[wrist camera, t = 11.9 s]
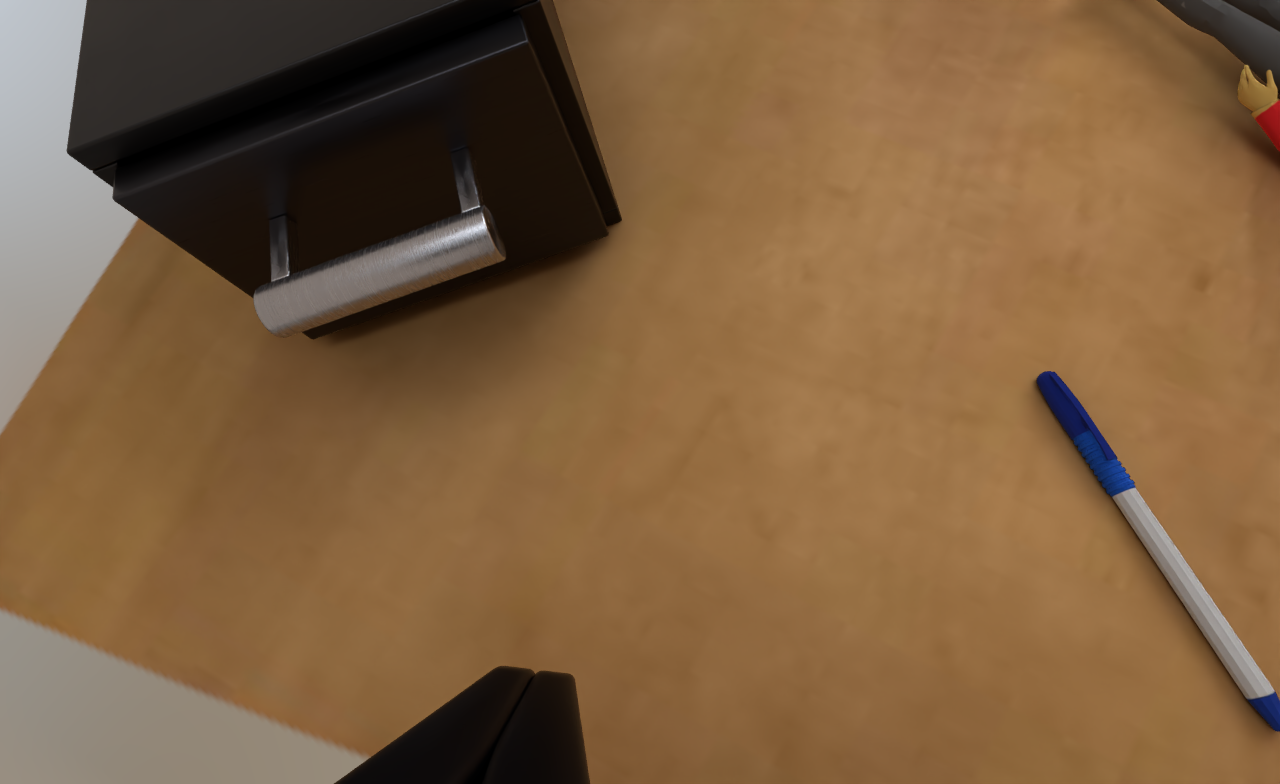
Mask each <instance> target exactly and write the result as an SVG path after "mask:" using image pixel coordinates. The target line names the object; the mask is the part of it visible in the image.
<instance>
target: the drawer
mask: <svg viewBox="0 0 1280 784" xmlns="http://www.w3.org/2000/svg"><path fill="white" fill-rule="evenodd" d="M161 146H163V147H164V148H165V149H166V150H163V151H161V152H158V153H156V154H153V155H150V156H148V157H145V158H143V159H140V160H137V161H135V162H132V163H130V164H127V165H124V166H122V167H119V168H117V169H116V170H115V176H114V187H113V200H114V201H115V202H117V203H118V204H120V205H121V206H123V207H124V208H125V209H127V210H128V211H130V212H131V213H133V214H134V215H135V216H137V217H138V218H140V219H141V220H142V221H144V222H145V223H147V224H148V225H150V226H151V227H152V228H154V229H155V230H157V231H158V232H160V233H161V234H162V235H164V236H165V237H167V238H168V239H170V240H171V241H172V242H174V243H175V244H177V245H178V246H180V247H181V248H182V249H184V250H185V251H187V252H188V253H189V254H191V255H192V256H194V257H195V258H197V259H198V260H199V261H201V262H202V263H204V264H205V265H207V266H208V267H209V268H211V269H212V270H214V271H215V272H217V273H218V274H219V275H221V276H222V277H224V278H225V279H227V280H228V281H229V282H231V283H232V284H234V285H235V286H237V287H238V288H239V289H241V290H242V291H244V292H245V293H247V294H248V295H249V296H251V297H252V298H254V306H255V309H256V312H257V315H258V317H259V319H260V320H261V322H262V323H263V325H264V326H265V327H266V329H267V330H268V331H269V332H271V333H272V334H273V335H275V336H277V337H281V338H286V337H289V336H292V335H295V334H297V333H300V332H302V333H304V334H305V335H306V336H308V337H309V338H311V339H316V338H319V337H322V336H325V335H328V334H330V333H333V332H336V331H339V330H342V329H345V328H347V327H350V326H353V325H356V324H359V323H362V322H364V321H367V320H370V319H373V318H376V317H379V316H382V315H384V314H387V313H390V312H393V311H396V310H399V309H401V308H404V307H407V306H410V305H413V304H416V303H418V302H421V301H424V300H427V299H430V298H433V297H435V296H438V295H441V294H444V293H447V292H450V291H453V290H455V289H458V288H461V287H464V286H467V285H470V284H472V283H475V282H478V281H481V280H484V279H487V278H489V277H492V276H495V275H498V274H501V273H504V272H506V271H509V270H512V269H515V268H518V267H521V266H523V265H526V264H529V263H532V262H535V261H538V260H541V259H543V258H546V257H549V256H552V255H555V254H558V253H560V252H563V251H566V250H569V249H572V248H575V247H577V246H580V245H583V244H586V243H589V242H592V241H594V240H597V239H600V238H603V237H606V236H608V234H609V232H608V229H607V226H606V222H605V219H604V216H603V213H602V210H601V208H600V205H599V203H598V200H597V198H596V195H595V193H594V190H593V188H592V186H591V183H590V181H589V178H588V176H587V173H586V171H585V168H584V166H583V164H582V161H581V159H580V156H579V154H578V151H577V149H576V146H575V144H574V142H573V139H572V137H571V134H570V132H569V129H568V127H567V124H566V122H565V120H564V117H563V115H562V112H561V110H560V107H559V105H558V102H557V100H556V98H555V95H554V93H553V90H552V88H551V85H550V83H549V80H548V78H547V76H546V73H545V71H544V68H543V66H542V63H541V61H540V58H539V56H538V54H537V51H536V49H535V46H534V44H533V41H532V39H531V36H530V34H529V32H528V29H527V27H526V24H525V22H524V19H523V17H522V16H521V15H520V14H518V15H515V16H514V13H513V11H512V9H511V10H509V11H506V12H504V13H501V14H498V15H496V16H493V17H491V18H488V19H485V20H483V21H480V22H478V23H475V24H472V25H470V26H467V27H465V28H462V29H459V30H457V31H454V32H452V33H449V34H447V35H444V36H441V37H439V38H436V39H434V40H431V41H428V42H426V43H423V44H421V45H418V46H415V47H413V48H410V49H408V50H405V51H402V52H400V53H397V54H395V55H392V56H389V57H387V58H384V59H382V60H379V61H376V62H374V63H371V64H369V65H366V66H363V67H361V68H358V69H356V70H353V71H350V72H348V73H345V74H343V75H340V76H337V77H335V78H332V79H330V80H327V81H324V82H322V83H319V84H317V85H314V86H311V87H309V88H306V89H304V90H301V91H298V92H296V93H293V94H291V95H288V96H285V97H283V98H280V99H278V100H275V101H272V102H270V103H267V104H265V105H262V106H259V107H257V108H254V109H252V110H249V111H246V112H244V113H241V114H239V115H236V116H233V117H231V118H228V119H226V120H223V121H220V122H218V123H215V124H213V125H210V126H208V127H205V128H202V129H200V130H197V131H195V132H192V133H189V134H187V135H184V136H182V137H179V138H176V139H174V140H171V141H169V142H166V143H163V144H161Z"/></svg>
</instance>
